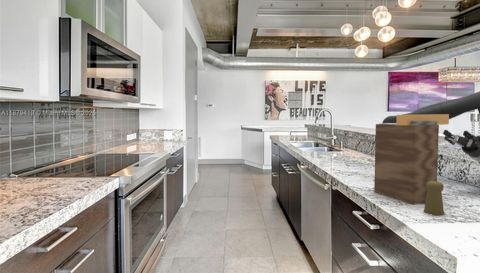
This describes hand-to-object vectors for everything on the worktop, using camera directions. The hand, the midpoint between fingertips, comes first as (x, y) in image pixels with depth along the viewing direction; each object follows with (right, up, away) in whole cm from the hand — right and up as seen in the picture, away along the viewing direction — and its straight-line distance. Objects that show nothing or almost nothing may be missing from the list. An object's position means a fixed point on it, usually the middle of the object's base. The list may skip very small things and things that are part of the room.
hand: (454, 132), depth 128 cm
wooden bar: (-16, +3, -6) cm, 18 cm away
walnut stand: (-21, -27, +1) cm, 34 cm away
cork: (-21, -29, -21) cm, 41 cm away
